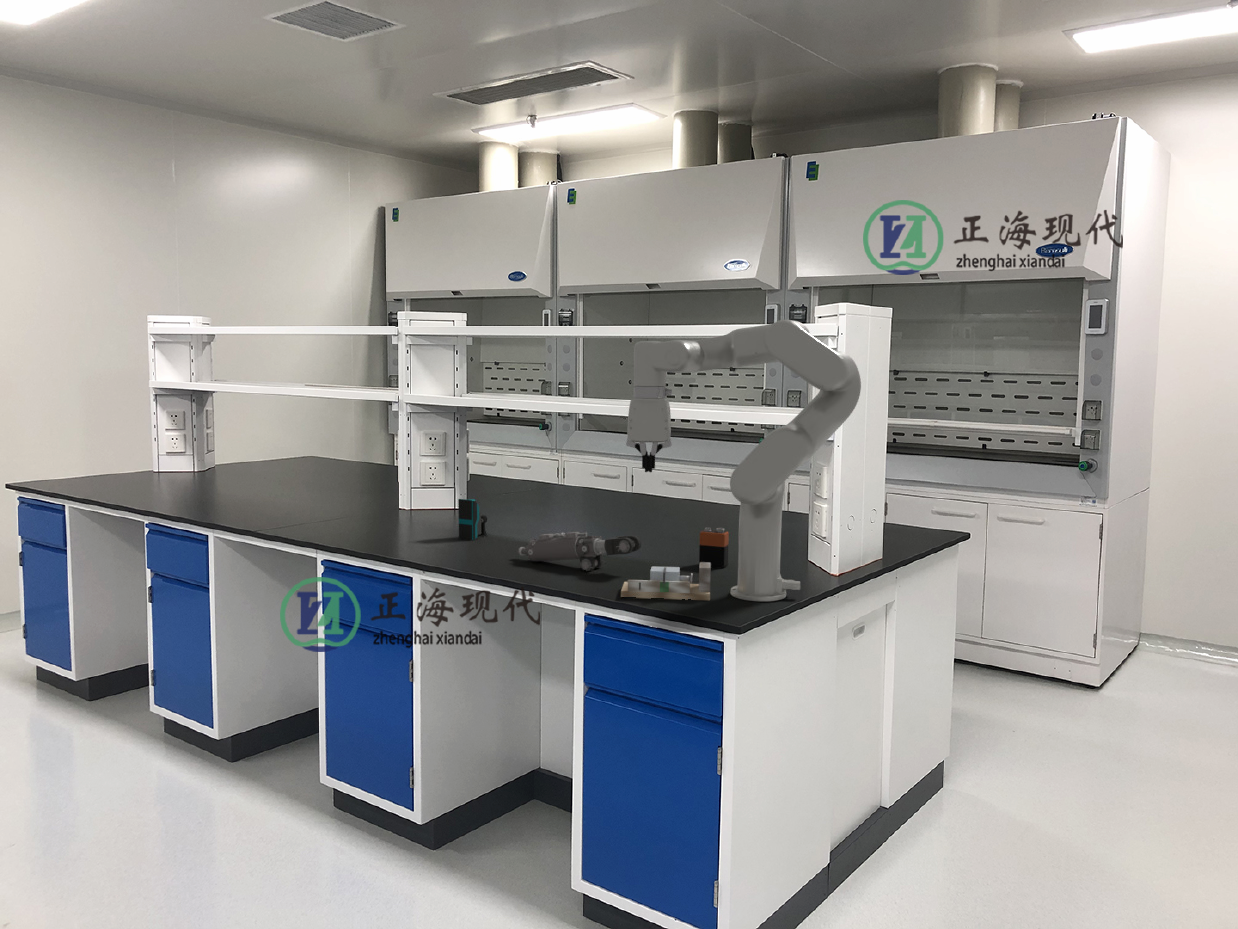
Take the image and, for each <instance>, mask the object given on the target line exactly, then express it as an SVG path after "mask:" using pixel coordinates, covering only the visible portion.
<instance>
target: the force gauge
mask: <svg viewBox="0 0 1238 929" xmlns="http://www.w3.org/2000/svg"><path fill="white" fill-rule="evenodd" d="M650 568H651V569H650V571H649V573H650V574H649V575H650V576H649V578H650V579H649V580H651V581H663V584H664V585H665V581H683V582H690V584H693V578H694V577H693V572H691V573H690V575H680V574H681V573H680V572H681V570H680V568H681V567H679V566H651V567H650Z"/></svg>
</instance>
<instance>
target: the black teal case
mask: <svg viewBox="0 0 1238 929" xmlns="http://www.w3.org/2000/svg"><path fill="white" fill-rule="evenodd" d="M457 502H458V503H457V504H458V506H457V508H458V540H463V541H470V540H473V541H475V540H476V539H477V538H478V537H479V536H483V537H482V538H485V537H487V536H486V535H487V534H488V533H487V530H486V523H487V522H488V517H487V516H486V515H485V514H482V512H481V511H480V505H479V501H478V499H473V498H468V499H467V498H466V499H465V498H458V501H457ZM477 535H478V536H477ZM484 536H485V537H484Z"/></svg>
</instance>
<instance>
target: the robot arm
mask: <svg viewBox="0 0 1238 929" xmlns="http://www.w3.org/2000/svg"><path fill="white" fill-rule="evenodd" d="M778 362H779V363H781V364H782V366H784V367H785V368H787V369H788V370H790V371H791V372H793V373H794V374H796V375H797V376H798V377H800V378H801V379H802V380H804V381H805V382H806V383H808V384H809V385H811V386H812V387H814V388H815V389H817V390H819V392H818V393H817V394H816V396H815V397H813V399H811V401H809V402H808V403H807V404H806V405H805V406H804V407H803V409H802V410H801V411H799V413H798V414H797V415H796V416H795V417H794V418H793V419H792V420H791V421H789V422H788V423H787V424H784V425H782V426H780V427H776V428H775V429H773V430H772V431H771V432H769V433H768V434H767V435H766V436H765V437H764V438H763V439H762V440H761V441H760V443H758V444H757V445H756V446H755V448H754V449H752V451H751V452H750V453H749V454H748V455H747V456H746V457H745V458H744V459H743V460H742V461H741V462H740V463H739V464H738V465H737V466H736V467H735V468H734V470H733V471H732V473H731V476H730V480H729V489H730V492H731V494H732V496H733V497H734V499H736V500H737V501H738V502H739V503H740V505H739V506H740V507H739V515H738V516H739V517H738V518H739V519H738V543H737V544H738V547H737V548H738V549H737V550H738V551H737V552H738V553H737V585H734V586H731V588H730V595H731V596H732V597H734V598H736V599H739V600H744V601H749V602H750V601H751V602H775V601H780V600H783V599H785V598H786V596H787V590H792V591H793V590H796V591H797V590H798V591H800V590H801V581H800V580H799V581H797V580H794V579H784V578H782V575H781V573H780V572H781V547H782V546H781V542H782V541H781V540H782V520H783V519H782V518H783V506H784V505H783V503H784V494H785V488H786V486H785V483H786V482H785V481H787V479H789V478H790V476H791V475H792V474H794V472H795V471H797V470H798V469H799V467H801V466H803V465H805V464H806V463H808V462H809V461H810V460H811V458H813V456H814V455H815V454H816V452H817V451H818V450H820V448H821V447H822V446H823V445H824V444H825V443H826V442H827V441H828V440H829V439H830V438H831V437H832V436H833V434H835V432H837V430H838V429H839V428H840V427H841V426H842V425H844V423H845V422H846V421H847V419H848V418H849V417H850V416H851V415H852V413H853V412H854V410H855V409H856V406H857V405H858V403H859V399H860V396H861V390H862V381H861V374H860V372H859V368H858V366H857V364H856V362H855V360H854V359H853V358H852V357H851V356H850V355H849V354H847V353H845V352H843V351H838V350H834V349H832V348H830V347H829V346H828V345H826V344H825V343H823V342H821V341H820V340H819V339H818V338H816V337H814V336H813V335H812V334H811V333H810V330H809V328H808V327H807V326H806V325H805V324H803V323H802V322H800V321H797V320H791V319H780V320H777V321H774V323H769V324H763V325H757V326H749V327H742V328H737V329H734V330H732V331H730V332H729V333H726V334H724V335H719V336H714V337H708V338H703V339H694V340H685V339H673V340H665V341H659V340H640V341H637V342H636V343H635V344H634V348H633V399H630V401H629V406H628V407H629V408H628V413H627V414H628V416H627V429H626V433H627V439H626V442H625V446H627V447H629V448H632V449H633V448H634V449H636V450H637V451H638V452H639V453H640V454H641V456H642V457H641V465H642V466H641V468H642V469H644V472H645V473H652V472H653V469H656V454H658V453H659V452H660V451H661V450H663V449H666V448H671V447H672V445H673V444H672V440H671V436H672V421H671V406H670V401H669V399H666V397H668V396H672V394H673V393H672V391H673V390H672V389H671V388H670V389H669V388H668V387H666V383H667V379H666V378H667V373H666V372H668V373H675V374H683V373H688V374H690V373H691V374H692V373H697V372H704V371H705V372H706V371H712V370H720V369H726V368H743V367H749V366H758V365H765V364H771V363H778ZM647 443H652V444H651V451H650V452H648V451H647ZM648 453H649V454H648Z"/></svg>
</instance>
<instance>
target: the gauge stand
mask: <svg viewBox="0 0 1238 929" xmlns="http://www.w3.org/2000/svg"><path fill="white" fill-rule="evenodd" d="M698 566H699V571H698V574H699V575H698V576H699V577H698V583H692V584H691V581H665V585H664V584H663V581H651V580H650V579H649V580H646V579H645V580H643V579H627V581H624V582H623V584H622V587H621V590H620V598H621V597H636V598H635V599H651V598H664V599H663V600H682V599H685V601H688V599H691V600H690V601H692V600H693V601H711V571H712V570H711V568H712V567H711V563H708V562H700V565H698Z"/></svg>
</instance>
